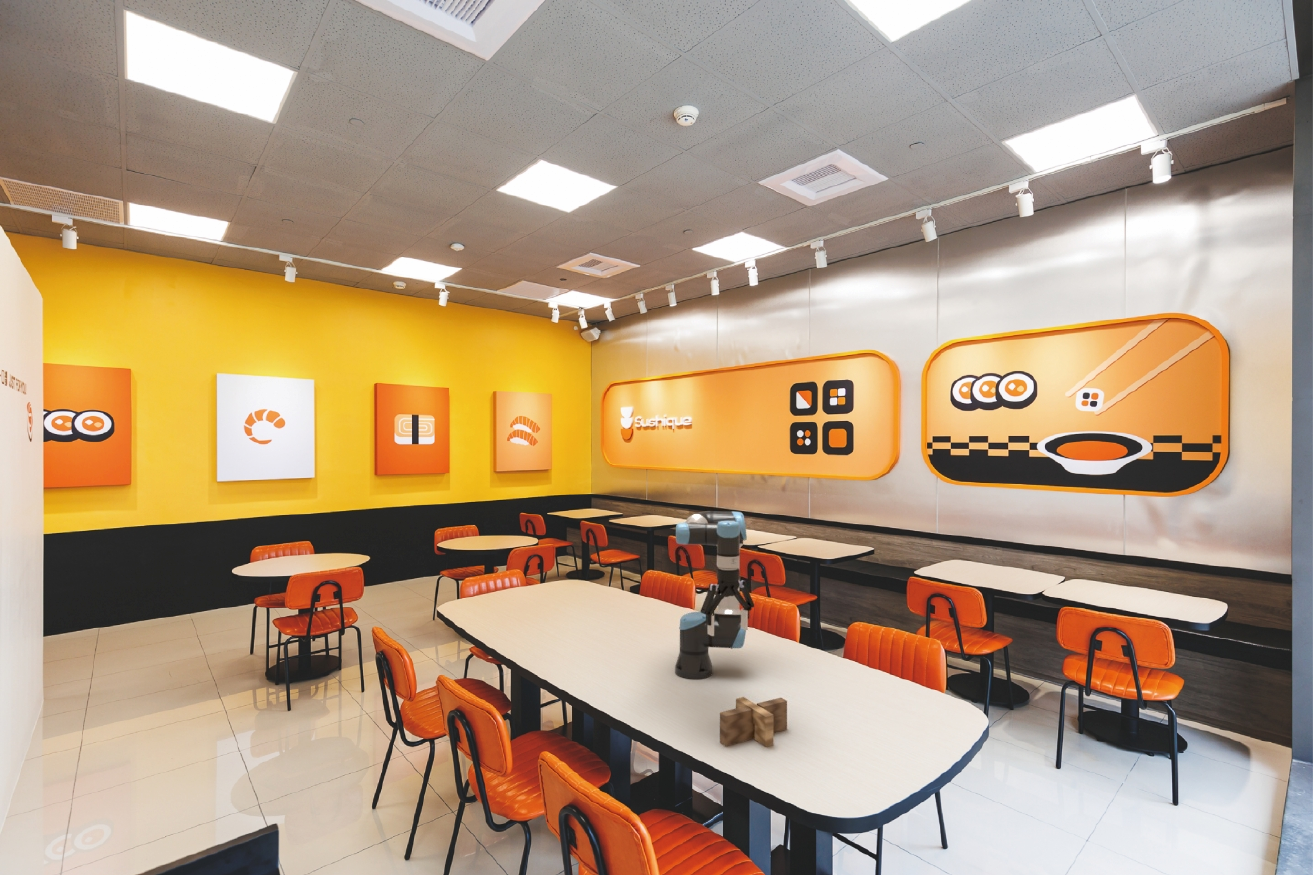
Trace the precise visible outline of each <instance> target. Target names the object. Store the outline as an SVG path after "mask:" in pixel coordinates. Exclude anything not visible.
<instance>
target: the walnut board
mask: <svg viewBox="0 0 1313 875" xmlns="http://www.w3.org/2000/svg"><path fill="white" fill-rule="evenodd" d="M756 705H758V706H760V707H761V708H763V709H765V710H766V711H768V712H770V713H771V714H773V715H774V718H773V734H775V733H777V732H782V731H785V730H788V700H786V699H785V698H783V697H777V698H773V699H769V700H765V701H762V702H761V701H760V702H757V703H756ZM753 739H754V740H755V725H754V724H753V723H752V710H751V709H750V708H748V707H746V706H744V707H740V708H736V707H735V708H732V709H728V710H724V711H719V743H720V744H721V745H723V746H724V747H728V746H732V745H734V744H738V743H742V742H746V741H749V740H753Z"/></svg>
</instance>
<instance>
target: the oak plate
mask: <svg viewBox="0 0 1313 875" xmlns="http://www.w3.org/2000/svg"><path fill="white" fill-rule="evenodd" d="M744 706H746V707H748V708H750V709H751V710H752V723H753V724H754V725H755V738H754V740H755V741H756V742H758V743H759V744H760V745H762V746H763V747H765V748H766V747H770V746H773V745H774V733H773V718H774V715H773V714H771V713H770V712H768V711H766V710H765V709H763V708H761V707H760V706H758V705H757V703H755V702H753V701H752V700H749V699H748V698H746V697H745V696H741V697H736V698H735V709H736V708H740V707H744Z"/></svg>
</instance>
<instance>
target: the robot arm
mask: <svg viewBox="0 0 1313 875" xmlns="http://www.w3.org/2000/svg"><path fill="white" fill-rule="evenodd" d="M675 525H676V526H675V542H676V544H677V545H684V546H686V545H688V546H689V545H691V546H693V545H698V546H703V545H705V546H716V567H717V568H716V580H717V583H716V584H713V583H709V584H708V592H707V593H706V596H705V598H704V601H703V604H702V606H701V608H700V611H692V612H689V613H688V612H687V613H686V614H684V615H682V616H680V618H679V619H680V621H679V628H678V630H679V652H678V657H677V659H676V662H675V665H674V671H675V672H674V673H675V674H676V675H677V676H678V677H681V678H685V679H689V680H702V679H707V678H710V677H711V676H712V675H713V673H714V672H713V671H714V668H713V664H712V660H711V658H710V657H711V656H710V654H709V648H716V649H717V648H719V649H731V650H733V649H742V648H743V647H744V644H745V640H746V633H747V631H749V630H748V629H749V628H748V625H749V624H748V623H749V622H748V620H749V619H750V611H752V609H753V608H754V607H755V603H754V600H753V598H752V596H751V593H750V591H749V589H748V583H747V581H746V580H743V579H740V558H741V557H740V556H741V554H740V550H741V547H742V546H743V545H744V541H747V537H748V536H747V528H746V527H747V526H746V522H745V516H744V514H743V513H742V512H741V511H734V510H733V511H730V510H729V511H727V510H726V511H724V510H723V511H718V510H717V511H715V510H714V511H713V510H707V511H705V510H704V511H699V512H696V513H694V514H691V515H690V516H688V517H687V519H686V520H685V521H684V522H679V523H677V524H675ZM740 591H741V592H740ZM741 593H742V595H743V596H742V595H741ZM740 606H741V607H742V608H741V609H740Z"/></svg>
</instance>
